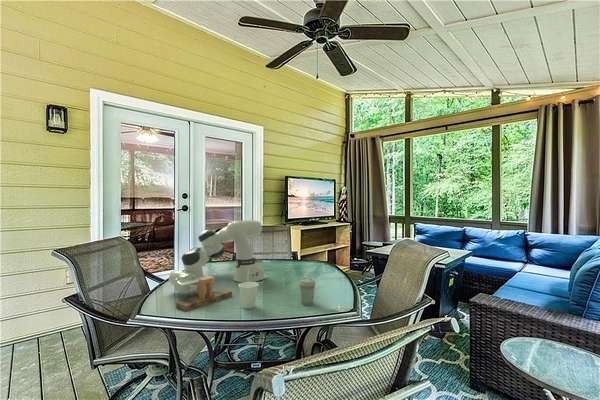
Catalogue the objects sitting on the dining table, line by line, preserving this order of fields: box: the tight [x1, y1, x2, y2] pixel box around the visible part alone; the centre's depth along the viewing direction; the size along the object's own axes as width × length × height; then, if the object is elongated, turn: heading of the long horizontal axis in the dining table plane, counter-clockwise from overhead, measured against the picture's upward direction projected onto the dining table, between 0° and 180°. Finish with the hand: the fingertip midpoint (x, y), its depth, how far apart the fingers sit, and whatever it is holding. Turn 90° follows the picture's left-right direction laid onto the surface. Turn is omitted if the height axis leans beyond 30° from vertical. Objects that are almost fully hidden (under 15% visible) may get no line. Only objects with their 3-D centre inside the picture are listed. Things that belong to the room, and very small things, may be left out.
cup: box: [238, 281, 259, 310], centre depth 147 cm, size 10×10×11 cm
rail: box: [175, 288, 233, 312], centre depth 154 cm, size 28×8×2 cm, turn 143°
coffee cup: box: [298, 277, 316, 306], centre depth 152 cm, size 8×8×12 cm
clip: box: [198, 277, 214, 300], centre depth 154 cm, size 6×4×12 cm, turn 143°
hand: (204, 285), depth 154 cm, fingers open, 8 cm apart
